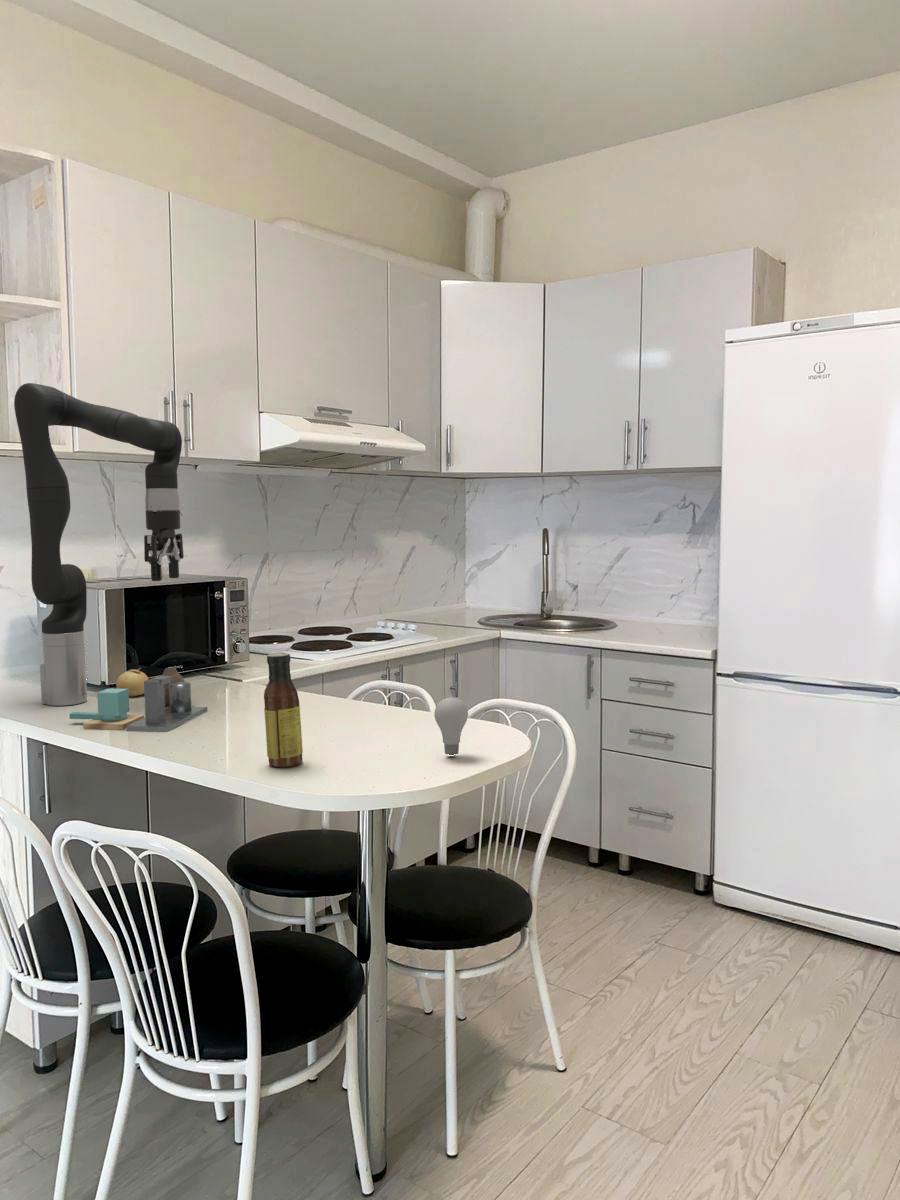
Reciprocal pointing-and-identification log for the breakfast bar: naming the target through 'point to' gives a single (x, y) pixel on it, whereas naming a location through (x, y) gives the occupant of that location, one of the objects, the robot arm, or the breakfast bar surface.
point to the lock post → (155, 706)
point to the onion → (132, 682)
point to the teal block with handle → (108, 706)
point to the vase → (175, 678)
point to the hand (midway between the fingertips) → (165, 579)
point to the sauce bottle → (282, 714)
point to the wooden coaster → (112, 723)
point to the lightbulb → (451, 722)
